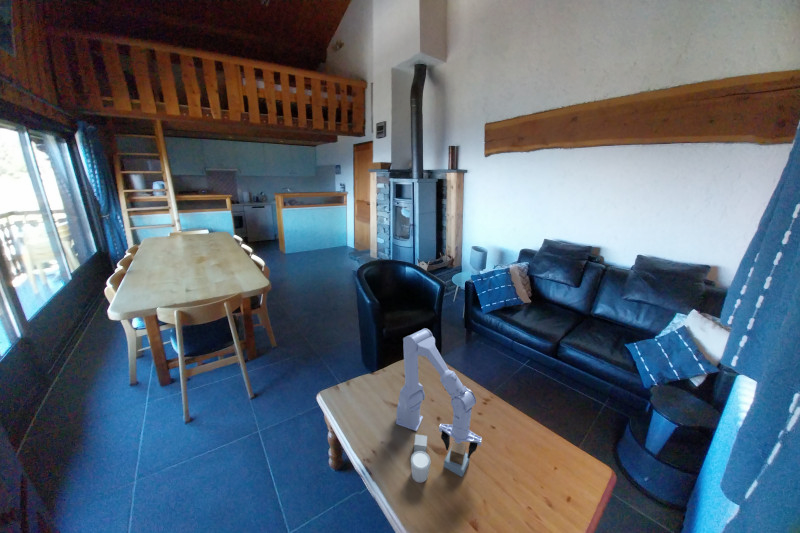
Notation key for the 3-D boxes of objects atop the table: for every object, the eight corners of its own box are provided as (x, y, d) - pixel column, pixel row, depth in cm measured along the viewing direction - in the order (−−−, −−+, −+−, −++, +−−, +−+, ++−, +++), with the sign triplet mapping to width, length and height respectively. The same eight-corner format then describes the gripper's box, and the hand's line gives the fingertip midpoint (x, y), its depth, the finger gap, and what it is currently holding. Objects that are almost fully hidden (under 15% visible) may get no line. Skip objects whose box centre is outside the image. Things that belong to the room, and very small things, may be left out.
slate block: (443, 467, 108) (444, 460, 107) (451, 452, 114) (452, 445, 112) (462, 477, 105) (463, 470, 103) (469, 462, 110) (470, 455, 109)
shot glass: (424, 488, 101) (424, 473, 98) (406, 477, 104) (406, 462, 102) (433, 471, 106) (434, 457, 104) (416, 461, 110) (416, 447, 107)
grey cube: (413, 454, 112) (414, 444, 111) (415, 444, 116) (415, 434, 115) (425, 456, 112) (426, 446, 110) (426, 445, 116) (427, 435, 114)
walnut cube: (449, 460, 107) (450, 450, 105) (452, 450, 111) (453, 439, 109) (462, 465, 105) (463, 455, 103) (464, 454, 109) (466, 444, 107)
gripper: (437, 424, 102) (435, 453, 106) (481, 439, 96) (476, 469, 101) (443, 409, 108) (440, 437, 112) (484, 422, 102) (480, 452, 107)
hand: (458, 451), depth 107 cm, fingers open, 7 cm apart
